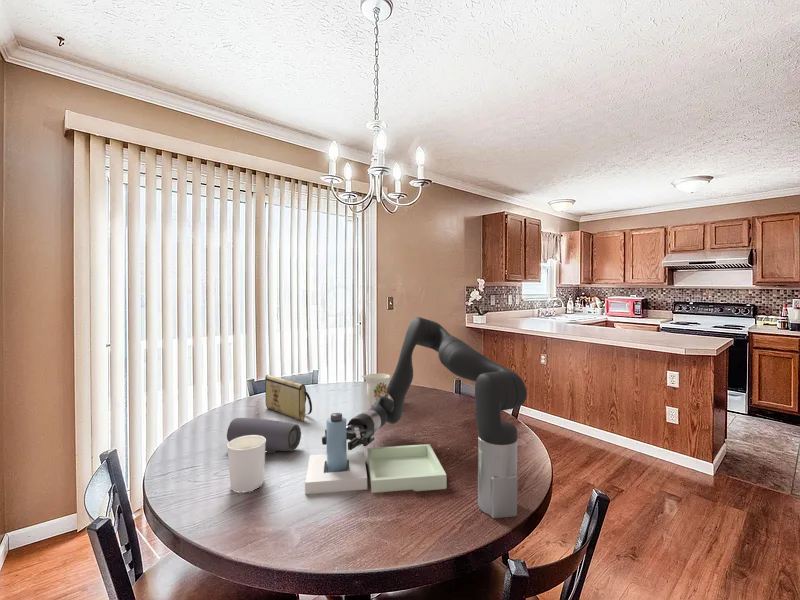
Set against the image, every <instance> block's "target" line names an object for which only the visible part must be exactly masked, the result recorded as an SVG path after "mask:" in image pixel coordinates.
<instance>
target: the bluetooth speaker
mask: <svg viewBox="0 0 800 600" xmlns="http://www.w3.org/2000/svg"><path fill="white" fill-rule="evenodd" d="M301 430H302V429H301V426H300V425H299V424H297V423H292V422H289V421H288V422H287V421H281V420H276V419H275V420H274V419H265V418H253V417H251V418H250V417H236V418H233V419H232V420H231V421H230V422H229V425H228V428H227V432H226V439H227V441H228V443H229V442H230V441H231V440H233V439H235V438H238V437H242V436H248V435H259V436H263V437H265V439H266V447H265V451H267V452H275V453H276V452H293V451H295V450H296V449H297V448H299V444H300V442H301V439H302V431H301ZM267 452H266V453H267Z"/></svg>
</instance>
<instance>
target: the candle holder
mask: <svg viewBox="0 0 800 600" xmlns="http://www.w3.org/2000/svg"><path fill="white" fill-rule="evenodd" d="M265 447H266V439H265V437H263V436H259V435H248V436H242V437H238V438H235V439H233V440H231V441H230V442H229V441H228V443H227V444H226V448H227V457H228V458H227V459H228V472H229V482H230V489H231V488H232V489H233V490H235V491H239V492H242V491H251V490H254V489H257V488H259V487H260V486H261V487H262V485H263V484H264V483H265V467H266V463H265V462H266V452H265ZM261 487H260V488H261ZM260 488H259V489H260ZM232 489H231V490H232ZM257 490H258V489H257Z"/></svg>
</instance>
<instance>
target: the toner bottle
mask: <svg viewBox="0 0 800 600" xmlns="http://www.w3.org/2000/svg"><path fill="white" fill-rule="evenodd" d="M325 425H326V429H327V444H326V454H327V473H329V472H342V471H347V453H348V452H347V450H348V442H347V441H348V440H347V436H346V426H347V418H346V417H344V416H343V413H341V412H333V413H331V414H330V417H329V418H327V419H326V424H325Z"/></svg>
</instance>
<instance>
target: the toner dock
mask: <svg viewBox="0 0 800 600" xmlns="http://www.w3.org/2000/svg"><path fill="white" fill-rule="evenodd" d="M365 457H366V456H365V451H359V452H358V451H357V452H356V451H355V452H347V471H342V472H329V473H327V453H326V454H325V453H324V454H312V455H309V459H308V464H307V465H308V466H307V471H306V476H305V481H304V495H313V494H325V493H338V492H348V491H351V492H352V491H363V490H368V474H367V473H368V472H367V467H366V460H365Z"/></svg>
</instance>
